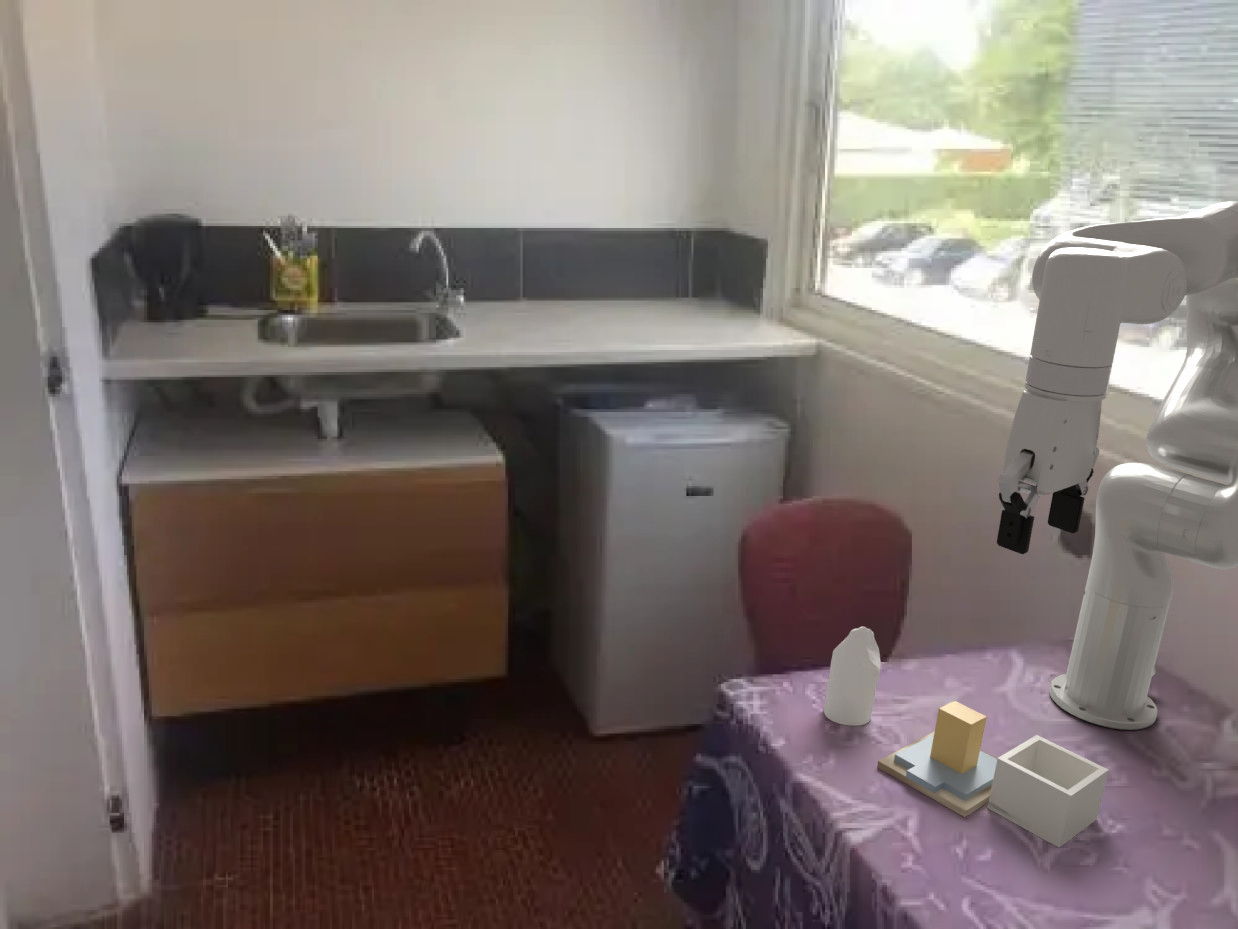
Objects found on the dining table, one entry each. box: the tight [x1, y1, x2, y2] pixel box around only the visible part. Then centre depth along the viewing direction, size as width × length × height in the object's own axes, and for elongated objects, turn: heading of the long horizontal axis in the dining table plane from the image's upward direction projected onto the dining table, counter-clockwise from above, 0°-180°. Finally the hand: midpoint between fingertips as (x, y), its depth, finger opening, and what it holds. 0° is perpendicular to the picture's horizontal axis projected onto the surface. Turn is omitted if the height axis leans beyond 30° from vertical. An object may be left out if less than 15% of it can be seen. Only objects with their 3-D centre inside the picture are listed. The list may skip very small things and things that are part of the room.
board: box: [876, 730, 999, 818], centre depth 119 cm, size 12×11×1 cm
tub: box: [986, 734, 1109, 848], centre depth 112 cm, size 8×8×6 cm
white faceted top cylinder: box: [823, 626, 882, 727], centre depth 128 cm, size 6×12×6 cm
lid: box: [894, 700, 997, 801], centre depth 117 cm, size 11×9×7 cm
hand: (1037, 538), depth 111 cm, fingers open, 9 cm apart
